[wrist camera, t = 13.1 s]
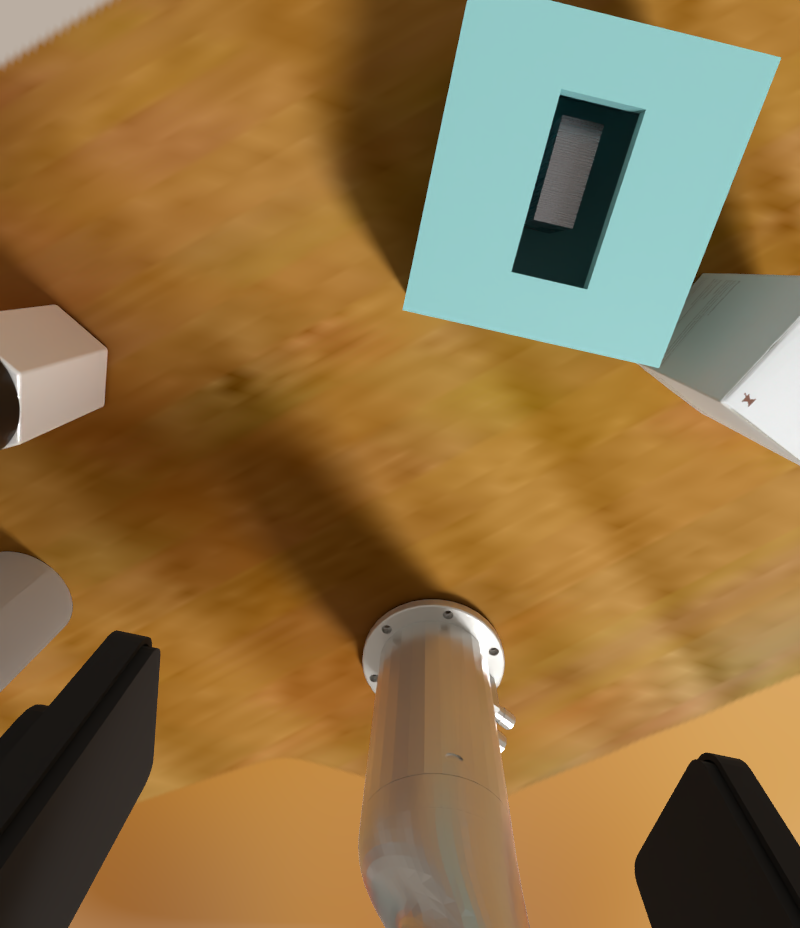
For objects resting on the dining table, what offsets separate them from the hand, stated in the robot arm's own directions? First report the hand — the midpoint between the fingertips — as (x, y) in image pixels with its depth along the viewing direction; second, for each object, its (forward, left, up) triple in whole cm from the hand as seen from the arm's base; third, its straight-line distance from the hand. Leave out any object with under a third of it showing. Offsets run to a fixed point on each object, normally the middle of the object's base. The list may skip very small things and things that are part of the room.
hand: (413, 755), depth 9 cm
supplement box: (-13, -15, -33) cm, 38 cm away
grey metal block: (+4, -16, -28) cm, 33 cm away
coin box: (+2, -13, -32) cm, 35 cm away
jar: (+21, +18, -32) cm, 43 cm away
